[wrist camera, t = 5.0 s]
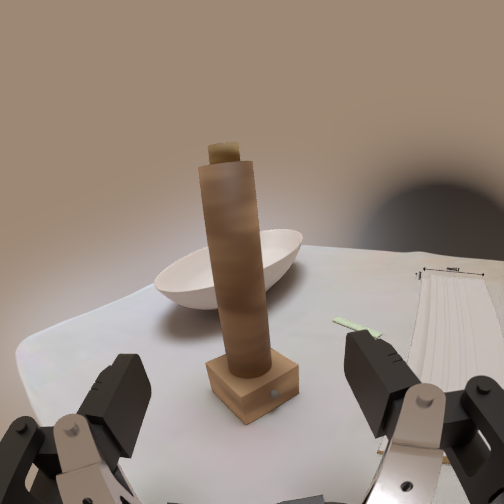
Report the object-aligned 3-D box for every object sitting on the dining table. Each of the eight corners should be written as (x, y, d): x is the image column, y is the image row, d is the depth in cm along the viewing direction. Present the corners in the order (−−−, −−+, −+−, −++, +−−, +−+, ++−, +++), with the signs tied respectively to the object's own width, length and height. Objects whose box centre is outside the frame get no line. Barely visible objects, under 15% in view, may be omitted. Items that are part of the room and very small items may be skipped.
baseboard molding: (355, 452, 13) (507, 468, 6) (362, 428, 13) (529, 443, 6) (412, 281, 37) (481, 288, 30) (414, 263, 37) (484, 270, 30)
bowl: (252, 258, 58) (249, 228, 56) (323, 262, 50) (321, 229, 48) (136, 325, 33) (124, 282, 31) (231, 358, 25) (221, 302, 24)
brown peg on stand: (260, 366, 24) (236, 149, 19) (302, 395, 19) (288, 136, 15) (212, 390, 21) (169, 154, 16) (249, 428, 17) (207, 136, 12)
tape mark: (337, 317, 30) (338, 316, 30) (381, 334, 25) (382, 333, 25) (332, 321, 30) (332, 320, 30) (376, 338, 25) (377, 337, 25)
